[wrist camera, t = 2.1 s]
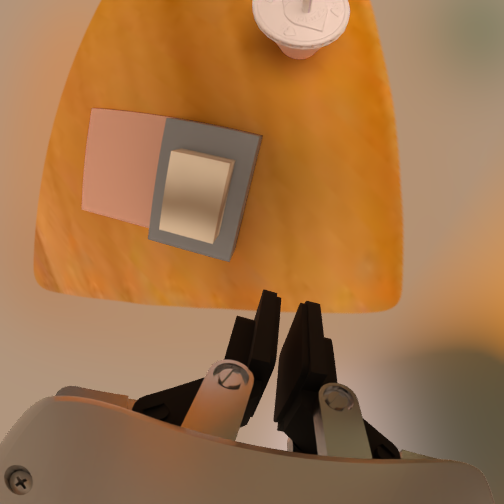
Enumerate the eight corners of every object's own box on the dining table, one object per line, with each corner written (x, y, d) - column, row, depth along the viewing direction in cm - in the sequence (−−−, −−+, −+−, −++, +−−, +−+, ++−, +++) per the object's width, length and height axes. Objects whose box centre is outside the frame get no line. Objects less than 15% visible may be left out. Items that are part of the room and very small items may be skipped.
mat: (93, 108, 27) (91, 108, 27) (178, 118, 27) (176, 118, 27) (83, 208, 32) (81, 209, 32) (159, 229, 32) (158, 230, 32)
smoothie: (287, 83, 25) (283, 44, 12) (251, 32, 23) (218, -36, 10) (345, 55, 23) (388, 2, 10) (308, 4, 21) (318, -75, 8)
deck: (178, 118, 27) (166, 117, 24) (262, 135, 27) (259, 136, 24) (159, 229, 32) (148, 239, 29) (234, 249, 32) (229, 261, 29)
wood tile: (181, 148, 25) (171, 150, 23) (235, 160, 25) (230, 163, 23) (169, 220, 28) (159, 229, 26) (219, 234, 28) (212, 243, 26)
